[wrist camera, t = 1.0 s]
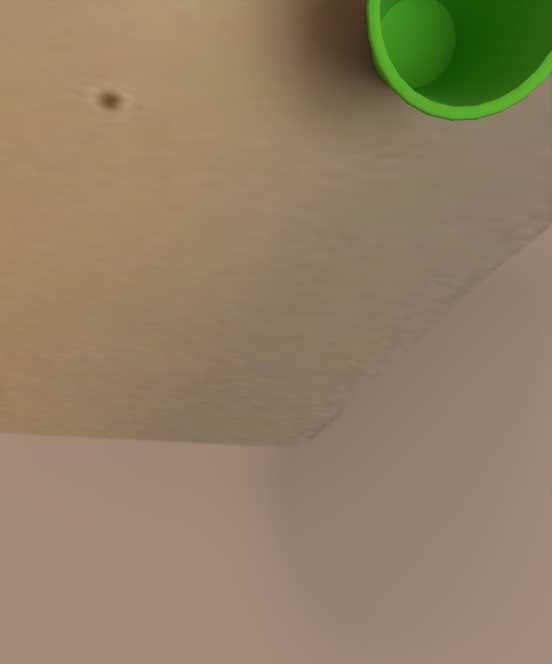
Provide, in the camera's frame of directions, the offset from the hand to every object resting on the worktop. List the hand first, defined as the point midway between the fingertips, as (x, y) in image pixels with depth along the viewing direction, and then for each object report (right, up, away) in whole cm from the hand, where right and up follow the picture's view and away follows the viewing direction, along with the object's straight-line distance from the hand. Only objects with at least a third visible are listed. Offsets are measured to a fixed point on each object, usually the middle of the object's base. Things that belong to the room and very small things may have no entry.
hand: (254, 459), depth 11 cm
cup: (+9, +21, +20) cm, 30 cm away
